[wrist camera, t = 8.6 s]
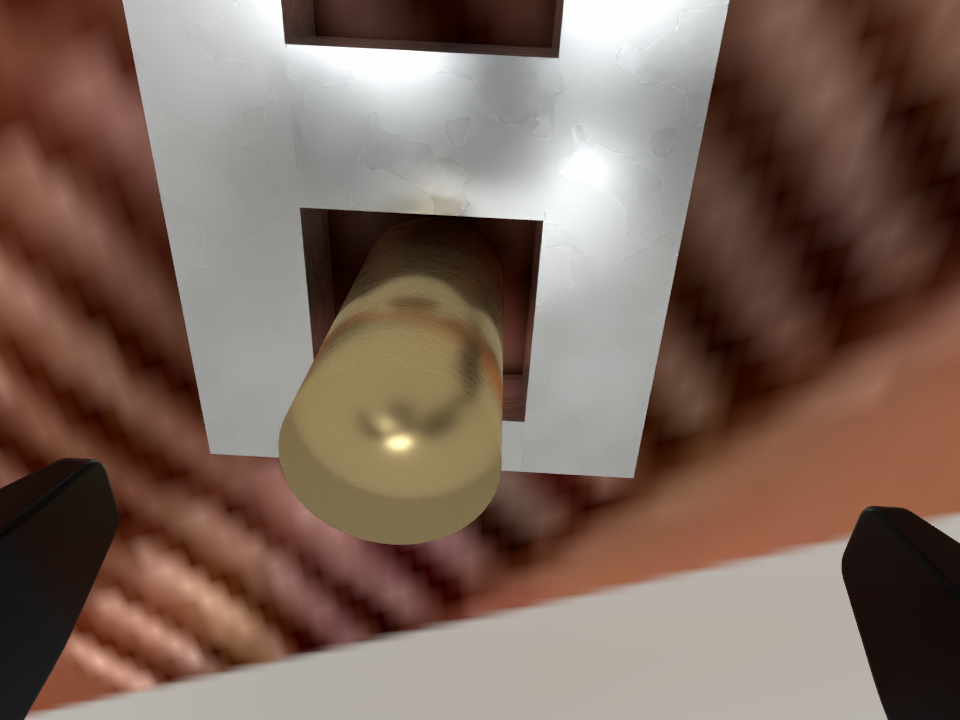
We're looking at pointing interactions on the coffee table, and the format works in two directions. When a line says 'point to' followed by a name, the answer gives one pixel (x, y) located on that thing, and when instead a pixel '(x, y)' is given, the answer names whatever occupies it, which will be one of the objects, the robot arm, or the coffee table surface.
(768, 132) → the coffee table surface
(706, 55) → the plate
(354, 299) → the pale yellow rod
